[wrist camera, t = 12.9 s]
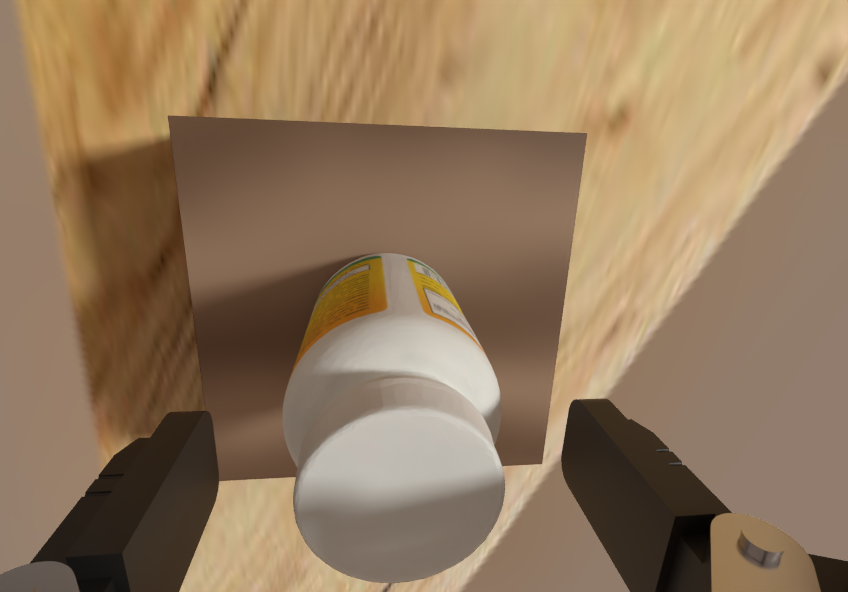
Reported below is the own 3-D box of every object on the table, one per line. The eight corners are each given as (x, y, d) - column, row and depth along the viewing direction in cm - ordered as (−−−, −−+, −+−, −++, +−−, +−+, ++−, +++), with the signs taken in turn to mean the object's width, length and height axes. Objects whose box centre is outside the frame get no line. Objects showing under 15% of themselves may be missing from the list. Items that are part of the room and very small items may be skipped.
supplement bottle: (464, 258, 17) (574, 384, 8) (442, 385, 19) (515, 609, 10) (317, 241, 16) (259, 363, 7) (307, 376, 18) (250, 613, 9)
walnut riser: (222, 123, 20) (167, 115, 15) (530, 136, 22) (587, 133, 16) (248, 403, 25) (214, 481, 19) (503, 395, 26) (541, 463, 21)
